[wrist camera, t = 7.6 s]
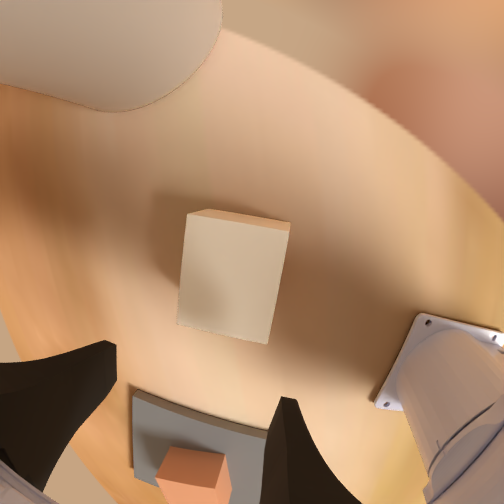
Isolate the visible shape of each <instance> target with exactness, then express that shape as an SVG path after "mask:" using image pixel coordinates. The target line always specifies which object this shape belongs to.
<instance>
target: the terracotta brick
mask: <svg viewBox="0 0 504 504" xmlns="http://www.w3.org/2000/svg"><path fill="white" fill-rule="evenodd" d="M155 479H156V481H157V483H158V485H159V487H160V489H161V491H162V493H163V495H164V497H165V498H166V500H167V502H168V504H228V503H229V499H230V495H231V492H232V486H231V481H230V476H229V471H228V466H227V461H226V455H225V454H219V453H210V452H203V451H196V450H189V449H183V448H177V447H172V446H170V448H169V450H168V452H167V454H166V456H165V458H164V460H163V462H162V464H161V466H160V468H159V470H158V472H157V474H156V476H155Z"/></svg>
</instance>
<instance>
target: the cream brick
mask: <svg viewBox="0 0 504 504" xmlns="http://www.w3.org/2000/svg"><path fill="white" fill-rule="evenodd" d="M289 232H290V222H284V221H279V220H273V219H268V218H262V217H256V216H251V215H245V214H239V213H233V212H227V211H221V210H215V209H205V210H201V211H197V212H193V213H189V214H187V220H186V228H185V237H184V246H183V255H182V265H181V276H180V287H179V299H178V312H177V324H178V325H182V326H186V327H190V328H194V329H198V330H202V331H206V332H211V333H215V334H219V335H224V336H228V337H233V338H237V339H242V340H247V341H252V342H257V343H262V344H268V339H269V334H270V330H271V325H272V320H273V315H274V310H275V305H276V300H277V295H278V290H279V285H280V280H281V275H282V270H283V265H284V259H285V254H286V249H287V243H288V238H289Z"/></svg>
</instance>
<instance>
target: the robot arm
mask: <svg viewBox="0 0 504 504" xmlns="http://www.w3.org/2000/svg"><path fill="white" fill-rule="evenodd" d="M427 320H430V321H429V323H428V324H425V322H426V321H427ZM493 336H494V337H493ZM492 337H493V338H492ZM503 343H504V333H503V332H500V331H496V330H491V329H487V328H483V327H479V326H475V325H471V324H466V323H462V322H458V321H454V320H450V319H446V318H442V317H438V316H434V315H430V314H426V313H420V314H418V315H417V316H416V318H415V320H414V322H413V324H412V327H411V329H410V331H409V334H408V336H407V338H406V340H405V342H404V344H403V347H402V349H401V351H400V353H399V355H398V357H397V359H396V361H395V363H394V365H393V367H392V369H391V371H390V373H389V375H388V377H387V379H386V381H385V382H384V384H383V386H382V388H381V390H380V392H379V393H378V395H377V397H376V399H375V401H374V405H375V407H376V408H380V409H388V410H397V411H404V413H405V415H406V418H407V420H408V423H409V425H410V428H411V431H412V433H413V436H414V438H415V441H416V444H417V446H418V449H419V452H420V455H421V457H422V460H423V463H424V466H425V469H426V472H427V474H428V477H429V482H428V484H427V486H426V487H425V488H424V489H423V493H424V496H425V500H426V503H427V504H504V348H503V347H502V345H503ZM116 381H117V363H116V344H113V343H111V342H109V341H106V340H103V341H100V342H97V343H94V344H91V345H88V346H85V347H82V348H79V349H76V350H73V351H70V352H67V353H63V354H60V355H56V356H52V357H48V358H44V359H39V360H33V361H26V362H13V363H0V504H58V503H57V502H55V501H54V500H52V499H51V498H49V497H48V496H46V495H45V494H43V490H44V488H45V486H46V483H47V481H48V479H49V477H50V474H51V473H52V471H53V468H54V467H55V465H56V463H57V461H58V459H59V458H60V456H61V454H62V452H63V451H64V449H65V447H66V446H67V444H68V443H69V441H70V440H71V438H72V437H73V435H74V434H75V432H76V431H77V430H78V428H79V427H80V426H81V425H82V424H83V423H84V421H85V420H86V419H87V418H88V417H89V416H90V415H91V414H92V412H93V411H94V410H95V409H96V408H97V407H98V406H99V405H100V403H101V402H102V401H103V400H104V399H105V398H106V396H107V395H108V393H109V392H110V390H111V389H112V387H113V386H114V384H115V382H116ZM386 402H388V403H387V404H384V403H386ZM259 504H362V503H361V502H360V501H359V500H358V499H356V498H355V497H354V496H353V495H352V494H351V493H350V492H349V491H348V490H347V489H346V488H345V487H344V485H343V484H342V483H341V482H340V481H339V480H338V479H337V478H336V476H335V475H334V474H333V472H332V471H331V470H330V468H329V467H328V465H327V464H326V462H325V461H324V459H323V458H322V456H321V454H320V453H319V451H318V449H317V447H316V445H315V443H314V441H313V440H312V437H311V435H310V433H309V431H308V429H307V426H306V424H305V421H304V419H303V416H302V414H301V411H300V408H299V405H298V402H297V400H296V399H292V398H287V397H282V396H281V398H280V401H279V404H278V406H277V409H276V411H275V414H274V416H273V419H272V422H271V424H270V427H269V429H268V434H267V439H266V444H265V449H264V461H263V474H262V487H261V496H260V502H259Z"/></svg>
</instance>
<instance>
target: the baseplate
mask: <svg viewBox="0 0 504 504" xmlns="http://www.w3.org/2000/svg"><path fill="white" fill-rule="evenodd" d="M132 428H133V461H134V477H135V478H137V479H139V480H142V481H144V482H147V483H149V484H152V485H154V486H157V487H159V485H158V483H157V481H156V479H155V476H156V474H157V472H158V470H159V468H160V466H161V464H162V462H163V460H164V458H165V456H166V454H167V452H168V450H169V448H170V446H172V447H177V448H183V449H189V450H196V451H203V452H210V453H219V454H225V455H226V461H227V466H228V471H229V476H230V481H231V486H232V492H231V495H230V499H229V503H228V504H259V502H260V496H261V487H262V474H263V461H264V449H265V444H266V439H267V434H268V431H265V430H260V429H256V428H252V427H248V426H244V425H241V424H237V423H233V422H230V421H226V420H223V419H219V418H216V417H213V416H209V415H206V414H203V413H200V412H197V411H194V410H191V409H188V408H185V407H182V406H179V405H177V404H174V403H171V402H168V401H166V400H163V399H160V398H158V397H155V396H153V395H150V394H148V393H145V392H143V391H141V390H137V391H136V392H135V393H134V395H133V402H132ZM159 488H160V487H159Z"/></svg>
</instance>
